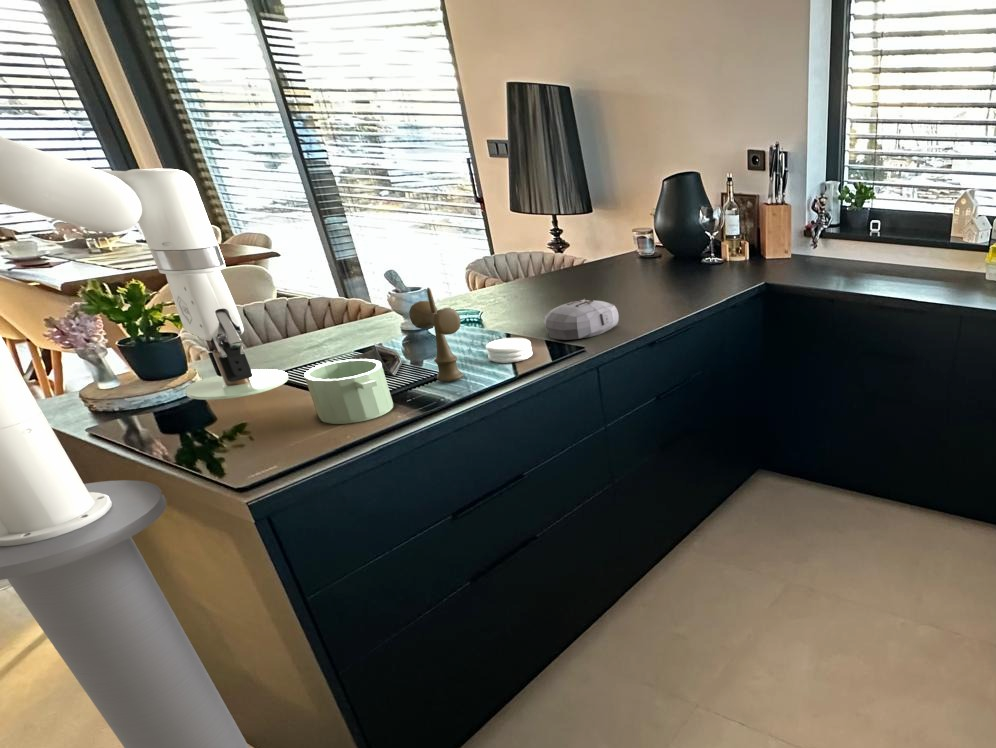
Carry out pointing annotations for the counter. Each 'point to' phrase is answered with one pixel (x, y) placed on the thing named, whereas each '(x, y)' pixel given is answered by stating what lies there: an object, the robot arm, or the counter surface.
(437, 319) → the kendama
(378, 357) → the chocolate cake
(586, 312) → the grey rounded bag
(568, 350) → the counter surface
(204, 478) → the counter surface
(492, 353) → the coaster
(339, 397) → the pot
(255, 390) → the lid
